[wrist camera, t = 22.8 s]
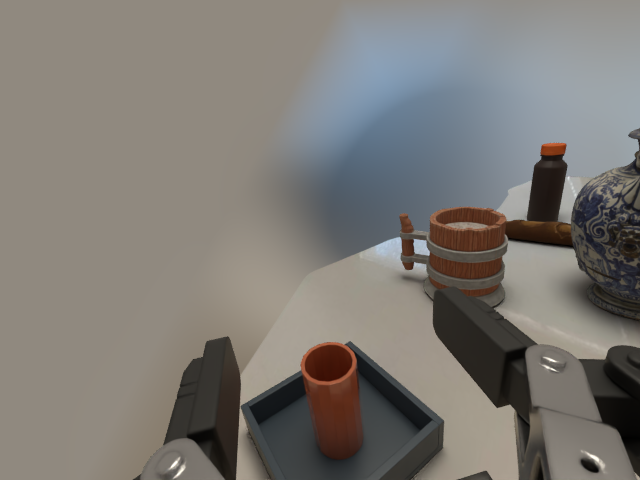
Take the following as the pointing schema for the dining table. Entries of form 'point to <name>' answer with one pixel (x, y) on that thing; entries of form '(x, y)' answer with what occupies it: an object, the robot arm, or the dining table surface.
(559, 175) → the vinegar
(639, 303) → the decorative vase
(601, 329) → the dining table surface
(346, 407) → the tumbler
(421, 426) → the tray
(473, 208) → the mug
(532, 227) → the bread
